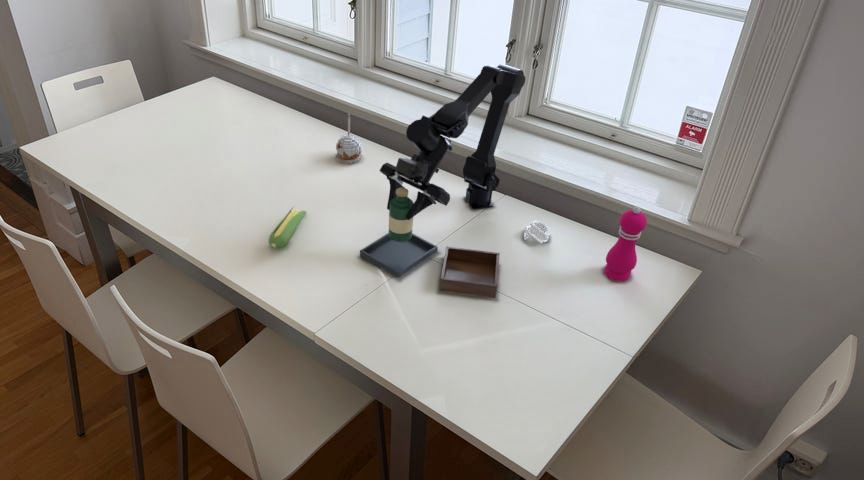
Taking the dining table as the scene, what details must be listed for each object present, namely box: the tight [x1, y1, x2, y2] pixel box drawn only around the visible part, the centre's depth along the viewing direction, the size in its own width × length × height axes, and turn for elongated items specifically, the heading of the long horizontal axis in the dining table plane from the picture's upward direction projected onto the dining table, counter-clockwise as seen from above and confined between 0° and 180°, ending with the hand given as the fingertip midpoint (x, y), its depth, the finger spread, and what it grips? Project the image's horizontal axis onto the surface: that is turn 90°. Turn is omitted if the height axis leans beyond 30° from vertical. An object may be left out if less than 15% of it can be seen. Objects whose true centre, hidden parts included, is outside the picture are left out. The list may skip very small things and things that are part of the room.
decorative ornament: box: [335, 113, 363, 164], centre depth 205 cm, size 8×8×15 cm
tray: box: [359, 232, 439, 279], centre depth 170 cm, size 15×13×2 cm
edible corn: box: [268, 206, 307, 250], centre depth 176 cm, size 5×20×5 cm, turn 164°
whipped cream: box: [523, 220, 551, 244], centre depth 177 cm, size 8×7×5 cm
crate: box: [438, 245, 501, 299], centre depth 162 cm, size 13×13×4 cm
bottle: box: [388, 187, 415, 242], centre depth 163 cm, size 6×6×13 cm
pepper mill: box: [603, 205, 648, 282], centre depth 161 cm, size 7×7×20 cm
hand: (397, 214), depth 162 cm, fingers closed on bottle, 6 cm apart
